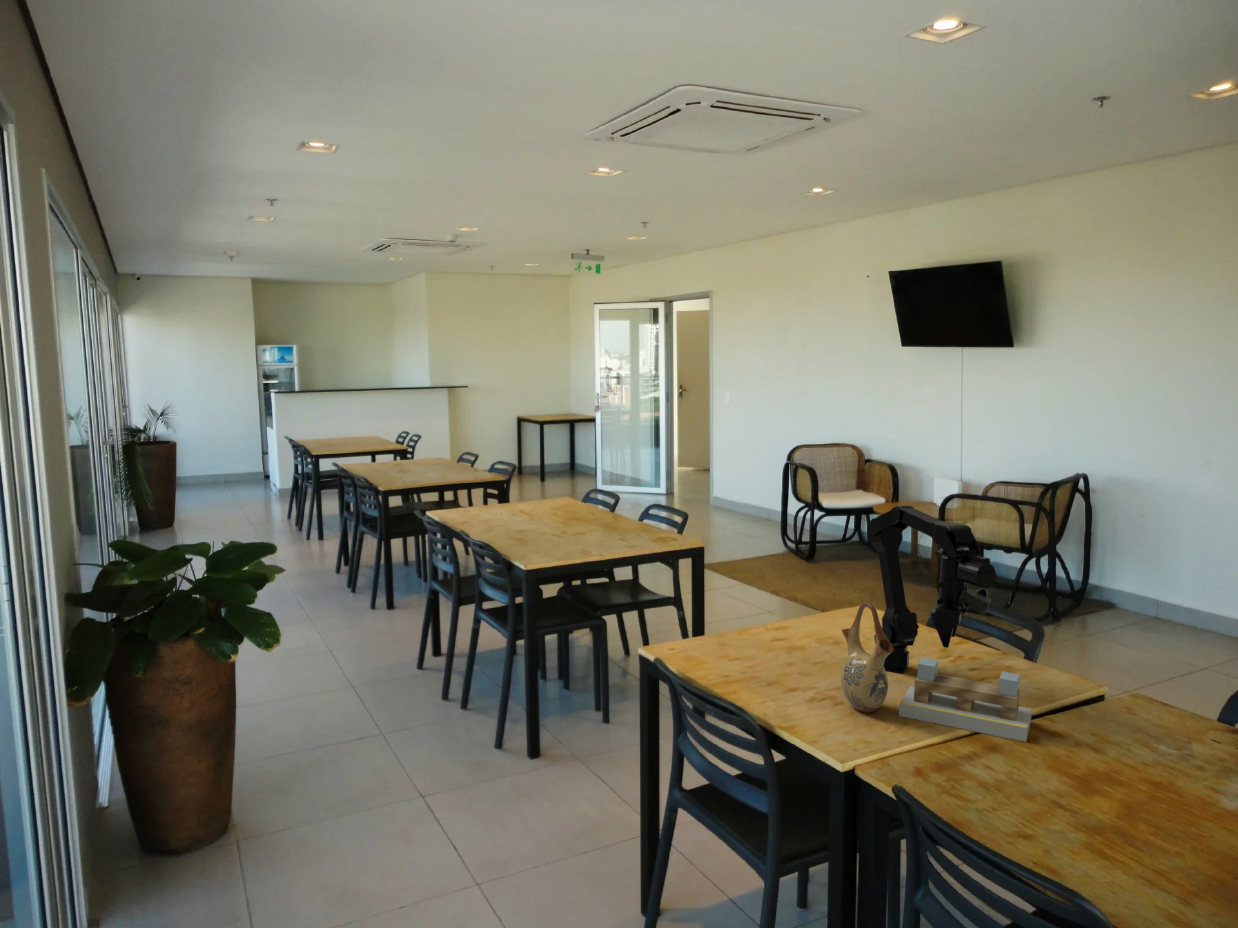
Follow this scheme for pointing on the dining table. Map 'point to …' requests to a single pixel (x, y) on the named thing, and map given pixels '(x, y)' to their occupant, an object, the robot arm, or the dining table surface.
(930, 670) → the grey small block
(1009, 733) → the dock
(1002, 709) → the pallet
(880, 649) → the ceramic vessel
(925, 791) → the dining table surface
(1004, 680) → the block
